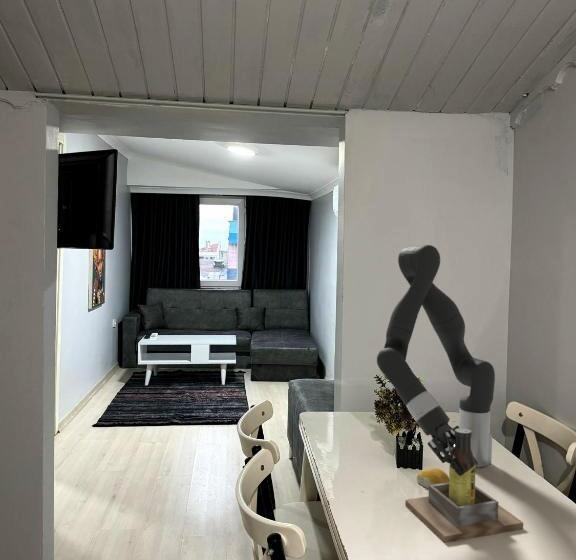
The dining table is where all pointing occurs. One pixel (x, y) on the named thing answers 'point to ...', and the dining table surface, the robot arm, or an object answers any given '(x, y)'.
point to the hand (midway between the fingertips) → (469, 469)
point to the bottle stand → (461, 515)
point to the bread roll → (432, 477)
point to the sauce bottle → (465, 484)
